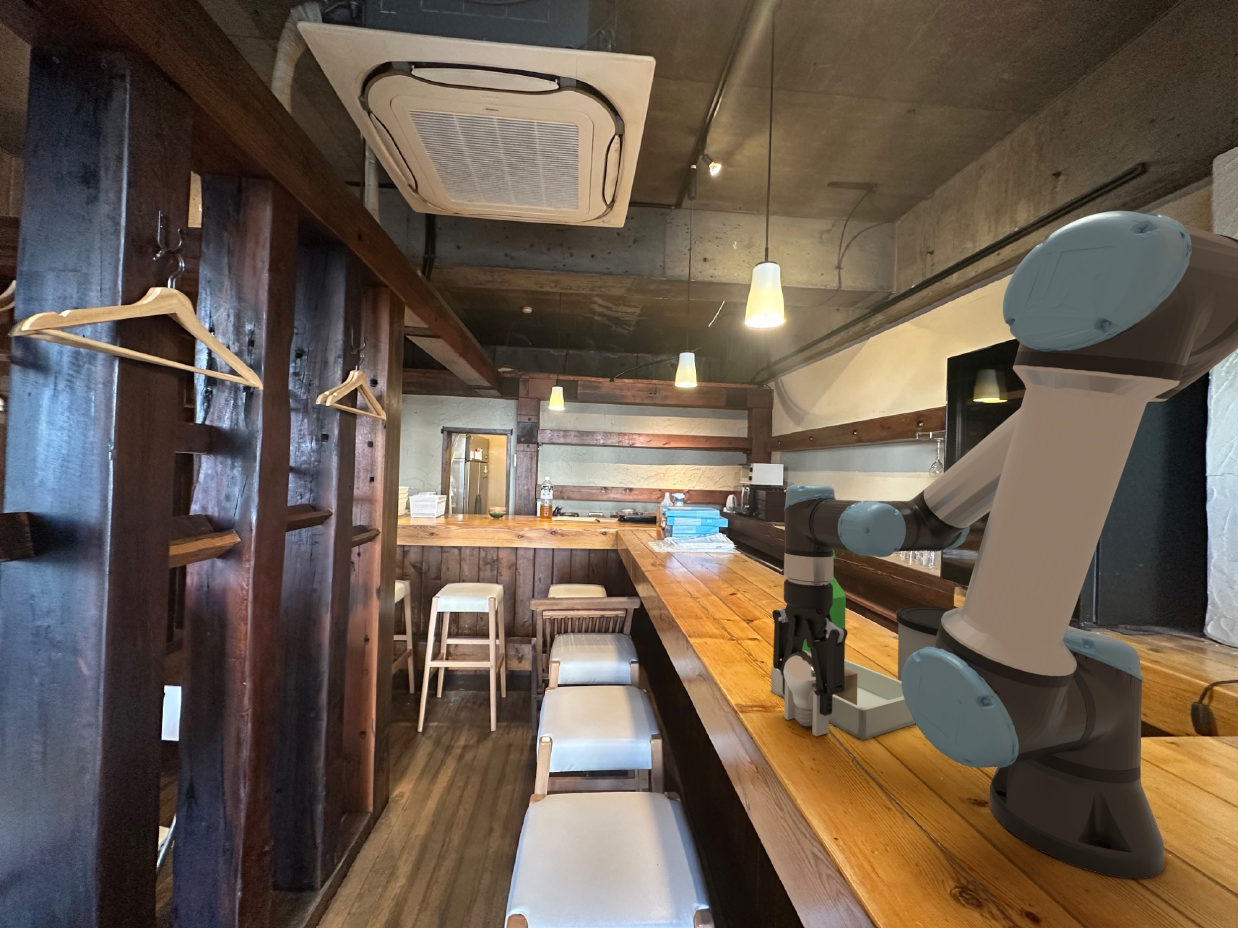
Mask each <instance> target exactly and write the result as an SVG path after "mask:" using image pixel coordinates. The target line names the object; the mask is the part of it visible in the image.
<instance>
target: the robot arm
mask: <svg viewBox="0 0 1238 928" xmlns="http://www.w3.org/2000/svg"><path fill="white" fill-rule="evenodd" d="M1002 314H1003V316H1002V317H1003V320H1004V323H1005V324H1007V325H1008V326H1009V331H1010V334H1011V335H1012V336H1013V337H1014V338H1015V339H1016V340H1017V341H1018V342H1019V346H1018V349H1017V353H1016V356H1015V360H1014V364H1013V366H1012V370H1013V371H1014V372H1015V374H1016V375H1017V376H1018V377H1019V379H1020V380H1021V382H1023V384H1024V386H1025V392H1024V394H1023V395H1024V396H1023V399H1022V402H1021V404H1020V405H1021V406H1020V407H1019V409H1018V410H1016V411H1015V412H1014V413H1013V414H1012V415H1010V416H1009V417H1008V418H1007V419H1006V420H1004V421H1003V422H1002V423H1001V424H1000V425H998V426H997V427H996V428H995V429H994V430H993V431H991V432H990V433H989V434H988V435H987V436H986V437H985V438H983V439H982V440H981V441H979V443H977V444H976V445H975V446H974V447H973V448H971V449H970V450H969V451H968V452H966V453H965V454H964V455H963V456H962V457H961V458H960V459H959V460H957V462H955V463H954V464H953V465H952V466H951V467H949V468H948V469H947V470H945V472H943V473H942V474H941V475H940V476H939V477H937V479H935V480H934V481H933V482H932V483H931V484H929V485H928V486H927V487H926V488H924V489H923V490H922V491H920V493H918V494H917V495H916V496H914V497H913V498H911V499H909V500H855V499H854V500H853V499H852V500H851V499H836V496H835V489H834V487H832V486H830V485H807V484H792V485H790V486H788V487H787V488H786V492H785V505H784V509H783V512H784V554H783V555H784V556H783V557H784V558H783V559H784V560H783V576H784V577H785V578H786V579H785V580H784V581H783V602H784V603H786V606H785V608H781V609H780V608H779V609H773V610H772V612H771V613H772V619H773V624H774V625H773V626H774V627H773V630H774V631H773V652H772V654H773V655H772V656H773V657H772V667H774V668H775V669H778V670H780V671H781V675H782V676H783V688H782V691H783V695H785V699H784V707H783V708H784V714H783V715H784V717H783V718H784V719H786V720H787V721H789V720H793V719H796V718H795V707H796V706H795V704H794V701H793V695H792V692H791V690H790V689H789V687H788V685H787V683H786V681H785V678H784V671H783V670H784V665H785V662H786V660H787V658H788V657H789V656H790V655H791V654H793V653H794V652H797V651H800V650H802V648H803V644H804V640H805V639H806V642H807V646H808V647H809V648H810V651H811V657H812V662H813V668H814V671H815V675H816V684H817V690H816V691H814V692H813V725H812V729H811V730H812V733H811V734H812V735H813V736H815V737H818V736H822V735H825V734H829V732H830V731H829V729H830V728H829V727H830V726H829V725H830V723H829V715H830V714H831V713H832V696H833V695H834V694H838V693H842V692H844V690H845V673H844V643H845V644H846V640H847V637H848V629H846V627H845V628H838V627H837V626H836V625H834V624H833V623H832V619H831V616H830V609H831V607H832V605H833V585H832V584H831V583H830V582H829V581H831V580H832V579H833V555H834V552H835V550H838V551H843V552H848V553H853V554H856V555H857V554H858V555H859V556H862V557H876V558H886V557H889V556H891V555H893V554H894V553H896V552H897V553H899V552H935V553H936V552H941V551H945V550H952V549H955V548H958V547H959V546H961V545H962V544H964V542H965V541H966V539H967V537H968V534H969V533H970V529H971V528H970V526H971V525H972V524H974V523H975V522H976V521H979V519H981V518H983V516H985V515H986V514H988V513H989V515H988V519H987V522H986V525H985V529H984V532H983V535H982V539H981V542H980V546H979V549H978V552H977V556H976V558H975V559H976V560H975V563H974V566H973V570H972V573H971V577H970V581H969V584H968V586H967V591H966V595H965V598H964V601H963V605H961V606H959V607H956V608H953V610H950V611H947V612H946V613H944V615H943V616H942V619H941V622H940V626H939V629H938V633H937V636H936V639H935V643H934V646H933V647H925V648H922V649H920V650H918V651H917V652H915V653H913V654H911V655H910V656H909V657H908V659H907V660H906V662H905V664H904V666H903V670H902V678H901V682H902V691H903V695H904V699H905V702H906V705H907V707H908V709H909V710H910V712H911V714H912V718H913V720H914V722H915V723H916V724H915V725H916V726H917V728H918V730H919V731H920V732H921V734H922V735H923V736H924V737H925V739H926V740H927V741H928V742H929V743H930V744H931V745H932V746H933V747H934V748H935V749H936V750H938V751H939V752H940V753H941V754H942V755H944V756H945V757H947V758H948V759H950V760H952V761H953V762H956V763H958V764H960V765H963V766H965V767H969V768H975V769H985V768H993V767H994V768H996V770H995V771H994V774H993V777H992V779H991V782H990V785H989V807H990V810H991V812H992V814H993V816H994V817H995V818H996V820H997V821H998V822H999V823H1000V824H1002V826H1003V827H1004V828H1005V829H1007V830H1008V831H1009V832H1011V833H1012V834H1013V835H1015V836H1016V837H1017V838H1019V839H1020V840H1021V841H1023V842H1025V843H1026V844H1027V845H1030V846H1032V847H1033V848H1035V849H1037V850H1039V851H1041V852H1042V853H1045V854H1047V856H1048V855H1049V856H1051V857H1053V858H1055V859H1056V860H1059V861H1062V862H1064V863H1065V864H1066V863H1067V864H1069V865H1071V866H1075V867H1077V868H1080V869H1083V870H1085V871H1086V870H1087V871H1089V870H1091V871H1090V872H1093V871H1096V872H1097V873H1098V874H1101V875H1104V876H1105V875H1106V876H1109V877H1115V878H1116V877H1117V878H1122V879H1134V880H1136V879H1137V880H1138V879H1140V880H1141V879H1147V878H1148V879H1149V878H1153V877H1155V876H1158V875H1159V874H1160V873H1161V872H1162V871H1164V867H1165V845H1164V844H1165V843H1164V839H1163V836H1162V835H1161V832H1160V828H1159V826H1158V823H1157V821H1156V818H1155V816H1154V813H1153V810H1152V808H1151V806H1150V803H1149V800H1148V797H1147V796H1146V793H1145V791H1144V788H1143V785H1142V781H1141V780H1142V779H1141V777H1142V775H1141V773H1142V770H1141V768H1142V767H1141V762H1142V703H1143V702H1142V699H1143V698H1142V692H1143V690H1142V688H1143V685H1142V684H1143V683H1144V676H1143V675H1142V668H1141V658H1140V654H1139V652H1138V651H1137V650H1136V648H1134V646H1132V645H1130V644H1129V643H1127V642H1125V641H1123V640H1121V639H1116V638H1114V637H1110V636H1107V635H1104V634H1099V633H1096V632H1092V631H1088V630H1084V629H1078V628H1075V627H1070V621H1071V620H1072V617H1073V614H1074V611H1075V608H1076V605H1077V602H1078V599H1079V596H1080V594H1081V592H1082V591H1081V590H1082V589H1083V586H1084V582H1085V579H1086V577H1087V574H1088V572H1089V568H1090V565H1091V563H1092V560H1093V557H1094V554H1095V551H1096V548H1097V546H1098V543H1099V540H1100V536H1101V534H1102V531H1103V529H1104V525H1105V523H1106V519H1107V516H1108V514H1109V511H1110V508H1111V505H1112V503H1113V501H1114V498H1115V494H1116V491H1117V488H1118V487H1119V483H1120V480H1121V477H1122V476H1123V475H1122V474H1123V472H1124V468H1125V466H1126V463H1127V460H1128V457H1129V454H1130V452H1131V449H1132V446H1133V444H1134V440H1135V437H1136V435H1137V431H1138V428H1139V426H1140V423H1141V421H1142V417H1143V416H1144V412H1145V409H1146V407H1147V404H1148V402H1153V403H1155V402H1165V401H1167V400H1169V399H1170V398H1171V397H1174V396H1175V395H1176V394H1177V393H1179V392H1180V391H1182V390H1184V389H1185V388H1187V387H1188V386H1189V385H1191V384H1192V383H1194V382H1196V381H1197V380H1198V379H1199V378H1201V377H1202V376H1204V375H1205V374H1206V373H1208V372H1209V371H1210V370H1212V369H1213V368H1214V367H1216V366H1217V365H1218V364H1220V363H1221V362H1222V361H1224V360H1226V358H1228V357H1229V356H1230V355H1232V353H1234V352H1235V351H1237V349H1238V239H1237V238H1235V237H1231V236H1229V235H1223V234H1218V233H1213V232H1209V231H1207V230H1203V229H1200V228H1197V227H1194V226H1191V225H1187V224H1183V223H1181V222H1180V221H1178V220H1176V219H1173V218H1172V217H1170V216H1168V215H1164V214H1158V213H1153V212H1152V213H1151V212H1150V213H1140V212H1135V211H1129V210H1113V211H1112V210H1111V211H1104V212H1099V213H1094V214H1091V215H1090V214H1089V215H1087V216H1084V217H1082V218H1079V219H1077V220H1074V221H1071V222H1070V223H1068V224H1066V225H1064V226H1061V227H1060V228H1059V229H1057V230H1055V231H1054V232H1052V233H1051V234H1050V235H1049V236H1048V237H1047V238H1046V239H1045V240H1044V241H1042V243H1040V244H1037V245H1036V246H1034V248H1032V250H1030V252H1029V253H1028V254H1027V255H1026V256H1025V257H1024V258H1023V259H1022V260H1021V262H1020V263H1019V264H1018V266H1017V267H1016V269H1015V270H1014V272H1013V274H1012V275H1011V277H1010V280H1009V282H1008V284H1007V286H1006V288H1005V292H1004V296H1003V301H1002ZM827 631H828V634H827V633H826V632H827ZM816 640H819V641H816ZM815 641H816V642H815ZM825 684H826V685H825ZM1096 872H1095V873H1096ZM1152 876H1153V877H1152Z"/></svg>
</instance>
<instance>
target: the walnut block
mask: <svg viewBox="0 0 1238 928" xmlns="http://www.w3.org/2000/svg"><path fill="white" fill-rule="evenodd" d="M844 673H845V690H844V692H842V693H838V694H834V695H836V696H838V697H840V698H843V699H845V700H847V701H849V702H851V703H853V704H855V705H857V676H858V673H855V672H853V671H850V670H848V669H845V668H844Z"/></svg>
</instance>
